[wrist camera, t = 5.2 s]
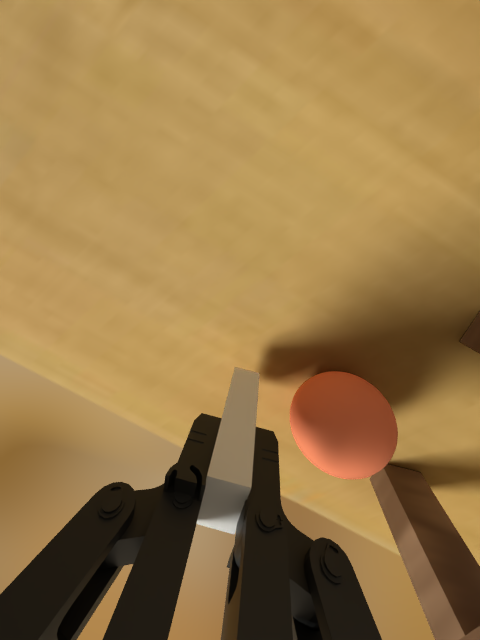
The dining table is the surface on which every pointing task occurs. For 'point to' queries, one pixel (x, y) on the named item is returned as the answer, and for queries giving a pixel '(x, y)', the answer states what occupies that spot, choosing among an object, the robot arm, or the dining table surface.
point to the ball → (343, 425)
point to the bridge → (433, 545)
